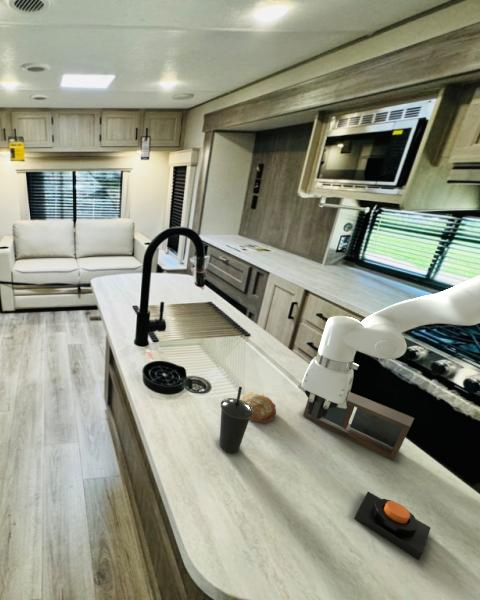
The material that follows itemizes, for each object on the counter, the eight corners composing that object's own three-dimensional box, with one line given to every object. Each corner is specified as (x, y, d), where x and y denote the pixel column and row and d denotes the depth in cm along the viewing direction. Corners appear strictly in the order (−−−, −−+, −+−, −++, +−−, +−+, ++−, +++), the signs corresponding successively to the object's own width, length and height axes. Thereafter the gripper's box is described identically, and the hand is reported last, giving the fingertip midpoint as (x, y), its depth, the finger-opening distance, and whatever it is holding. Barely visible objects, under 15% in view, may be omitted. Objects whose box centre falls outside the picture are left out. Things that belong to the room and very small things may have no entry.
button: (409, 516, 65) (412, 511, 64) (405, 527, 63) (408, 521, 62) (386, 503, 67) (388, 497, 67) (381, 513, 65) (384, 507, 65)
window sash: (346, 427, 90) (355, 404, 87) (338, 438, 86) (347, 414, 83) (311, 410, 96) (318, 388, 93) (302, 420, 93) (309, 397, 90)
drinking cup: (207, 440, 89) (217, 382, 81) (228, 433, 91) (240, 375, 84) (228, 461, 82) (241, 400, 75) (250, 452, 84) (264, 392, 77)
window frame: (398, 451, 84) (414, 417, 80) (393, 461, 81) (410, 426, 77) (309, 409, 100) (318, 379, 95) (302, 415, 97) (312, 385, 93)
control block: (426, 534, 65) (434, 521, 63) (418, 560, 60) (426, 547, 59) (364, 497, 72) (370, 485, 71) (353, 518, 68) (359, 506, 66)
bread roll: (236, 410, 105) (230, 393, 102) (265, 398, 104) (260, 381, 101) (253, 433, 96) (247, 415, 93) (286, 420, 94) (280, 401, 92)
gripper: (374, 368, 80) (353, 424, 87) (306, 345, 92) (292, 395, 99) (366, 379, 76) (344, 437, 83) (295, 353, 88) (281, 405, 95)
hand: (316, 414), depth 91 cm, fingers closed
